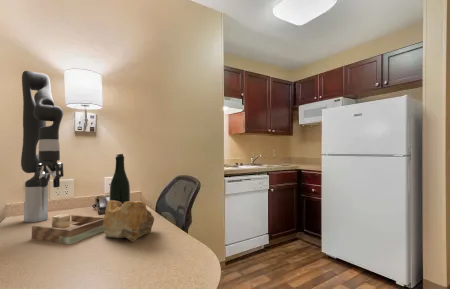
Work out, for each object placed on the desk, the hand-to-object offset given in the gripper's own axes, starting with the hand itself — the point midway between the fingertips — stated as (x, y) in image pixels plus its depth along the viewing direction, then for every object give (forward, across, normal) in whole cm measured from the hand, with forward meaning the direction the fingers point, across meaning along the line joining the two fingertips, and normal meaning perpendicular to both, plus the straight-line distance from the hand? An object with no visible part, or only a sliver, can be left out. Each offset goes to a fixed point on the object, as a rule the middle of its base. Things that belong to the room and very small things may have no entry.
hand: (49, 187), depth 105 cm
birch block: (+16, +7, 0) cm, 18 cm away
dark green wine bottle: (+19, +8, +31) cm, 37 cm away
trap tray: (+19, +13, 0) cm, 23 cm away
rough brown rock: (+20, +39, +7) cm, 45 cm away
